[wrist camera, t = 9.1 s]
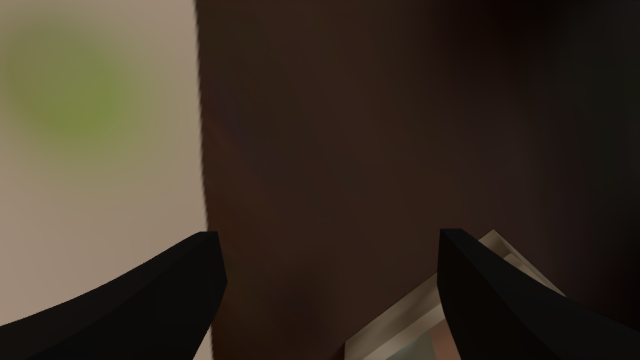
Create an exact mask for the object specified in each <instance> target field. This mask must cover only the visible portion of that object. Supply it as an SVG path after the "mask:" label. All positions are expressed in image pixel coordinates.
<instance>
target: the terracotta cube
mask: <svg viewBox="0 0 640 360" xmlns="http://www.w3.org/2000/svg"><path fill="white" fill-rule="evenodd" d="M429 332H430V336H431V340H432V344H433V348H434V352H435V355H436V359H437V360H461V358H460V355H459V353H458V350H457V348H456V345H455V342H454V340H453V337H452V334H451V332H450V329H449V326H448V324H447V321H446V318H445V319H443V320H442V321H440V322H439V323H438V324H436V325H435V326H433V327H432V328H430V329H429Z"/></svg>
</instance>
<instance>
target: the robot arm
mask: <svg viewBox="0 0 640 360" xmlns="http://www.w3.org/2000/svg"><path fill="white" fill-rule="evenodd" d="M436 283H437V288H438V292H439V297H440V301H441V305H442V309H443V313H444V316H445V318H446V321H447V324H448V326H449V329H450V332H451V334H452V337H453V340H454V342H455V345H456V348H457V350H458V353H459V355H460V358H461V360H640V332H639V331H636V330H634V329H632V328H629V327H627V326H625V325H623V324H620V323H618V322H616V321H614V320H612V319H609V318H607V317H605V316H603V315H600V314H598V313H596V312H594V311H592V310H590V309H588V308H586V307H584V306H582V305H580V304H578V303H576V302H574V301H572V300H571V299H569V298H567V297H565V296H563V295H561V294H559V293H557V292H556V291H554V290H552V289H550V288H549V287H547V286H545V285H543V284H542V283H540V282H538V281H537V280H535V279H534V278H532V277H530V276H529V275H527V274H526V273H524V272H522V271H521V270H519V269H518V268H516V267H515V266H513V265H512V264H510V263H509V262H507V261H506V260H504V259H503V258H502V257H500V256H499V255H497V254H496V253H494V252H493V251H492V250H490V249H489V248H488V247H486V246H485V245H483V244H482V243H481V242H479V241H478V240H477V239H475V238H474V237H472V236H471V235H470V234H468V233H467V232H465V231H464V230H462V229H440V239H439V253H438V268H437V282H436ZM226 285H227V277H226V272H225V267H224V262H223V257H222V252H221V247H220V242H219V237H218V232H217V231H209V232H198V233H196V234H194V235H192V236H190V237H188V238H186V239H184V240H183V241H181V242H179V243H177V244H176V245H174V246H172V247H170V248H169V249H167V250H165V251H164V252H162V253H160V254H159V255H157V256H155V257H154V258H152V259H150V260H148V261H147V262H145V263H143V264H141V265H139V266H138V267H136V268H134V269H132V270H130V271H128V272H127V273H125V274H123V275H121V276H120V277H118V278H116V279H114V280H112V281H110V282H108V283H106V284H104V285H102V286H100V287H98V288H96V289H93V290H91V291H89V292H87V293H85V294H83V295H80V296H78V297H76V298H74V299H71V300H69V301H66V302H64V303H61V304H59V305H56V306H54V307H52V308H49V309H46V310H44V311H41V312H39V313H36V314H33V315H31V316H28V317H26V318H23V319H20V320H17V321H14V322H11V323H8V324H6V325H2V326H0V360H193V358H194V356H195V354H196V352H197V350H198V348H199V346H200V344H201V342H202V341H203V338H204V337H205V335H206V333H207V331H208V329H209V327H210V325H211V323H212V321H213V319H214V317H215V315H216V313H217V311H218V309H219V306H220V303H221V300H222V298H223V295H224V291H225V288H226Z"/></svg>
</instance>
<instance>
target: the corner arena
mask: <svg viewBox="0 0 640 360" xmlns="http://www.w3.org/2000/svg"><path fill="white" fill-rule="evenodd" d="M478 241H479V242H481V243H482V244H483V245H485V246H486V247H488V248H489V249H490V250H492V251H493V252H494V253H496V254H497V255H499V256H500V257H502V258H503V259H504V260H506V261H507V262H509V263H510V264H512V265H513V266H515V267H516V268H518V269H519V270H521V271H522V272H524V273H526V274H527V275H529V276H530V277H532V278H534V279H535V280H537V281H538V282H540V283H542V284H543V285H545V286H547V287H549V288H550V289H552V290H554V291H556V292H557V293H559V294H561V295H563V296H565V295H564V294H563V293H562V292H561V291H560V290H559V289H557V288H556V287H555V286H554V285H553V284H552V283H551V282H550V281H549V280H548V279H547V278H546V277H544V276H543V275H542V274H541V273H540V272H539V271H538V270H537V269H536V268H535V267H534V266H533V265H532V264H530V263H529V262H528V261H527V260H526V259H525V258H524V257H523V256H522V255H521V254H520V253H519V252H518V251H516V250H515V249H514V248H513V247H512V246H511V245H510V244H509V243H508V242H507V241H506V240H505V239H503V238H502V237H501V236H500V235H499V234H498V233H497V232H496V231H495V230H494V229H493V230H492V231H490V232H489V233H488V234H486V235H485V236H484V237H482V238H481V239H480V240H478ZM436 282H437V272H436V273H435V274H434V275H432V276H431V277H430V278H428V279H427V280H426V281H424V282H423V283H422V284H420V285H419V286H418V287H416V288H415V289H414V290H413V291H411V292H410V293H409V294H407V295H406V296H405V297H403V298H402V299H401V300H399V301H398V302H397V303H395V304H394V305H393V306H391V307H390V308H389V309H388V310H386V311H385V312H384V313H382V314H381V315H380V316H378V317H377V318H376V319H374V320H373V321H372V322H370V323H369V324H368V325H366V326H365V327H364V328H363V329H361V330H360V331H359V332H357V333H356V334H355V335H353V336H352V337H351V338H349V339H348V340H347V341H345V360H437V359H436V355H435V352H434V348H433V344H432V340H431V336H430V332H429V329H430V328H432V327H433V326H435V325H436V324H438V323H439V322H440V321H442V320H443V319H445V316H444V313H443V309H442V305H441V301H440V297H439V292H438V288H437V283H436ZM565 297H566V296H565Z"/></svg>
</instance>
